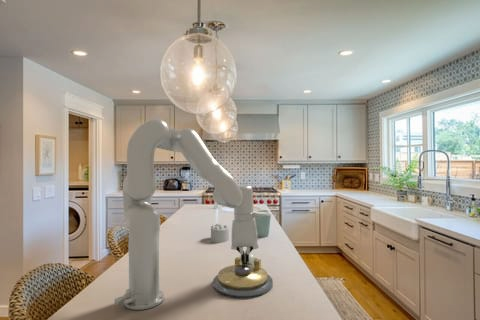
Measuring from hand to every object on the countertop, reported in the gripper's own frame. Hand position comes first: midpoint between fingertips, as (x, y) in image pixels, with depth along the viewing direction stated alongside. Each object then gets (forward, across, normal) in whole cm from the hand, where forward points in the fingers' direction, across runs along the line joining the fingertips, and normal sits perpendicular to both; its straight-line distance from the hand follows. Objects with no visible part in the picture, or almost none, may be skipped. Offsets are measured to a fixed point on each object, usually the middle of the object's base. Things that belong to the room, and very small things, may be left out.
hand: (245, 263), depth 115 cm
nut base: (+5, +1, +6) cm, 8 cm away
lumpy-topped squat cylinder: (+6, +14, -55) cm, 57 cm away
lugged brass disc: (+4, +1, +6) cm, 8 cm away
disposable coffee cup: (+6, -11, -64) cm, 65 cm away
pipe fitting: (+6, -2, -16) cm, 17 cm away
